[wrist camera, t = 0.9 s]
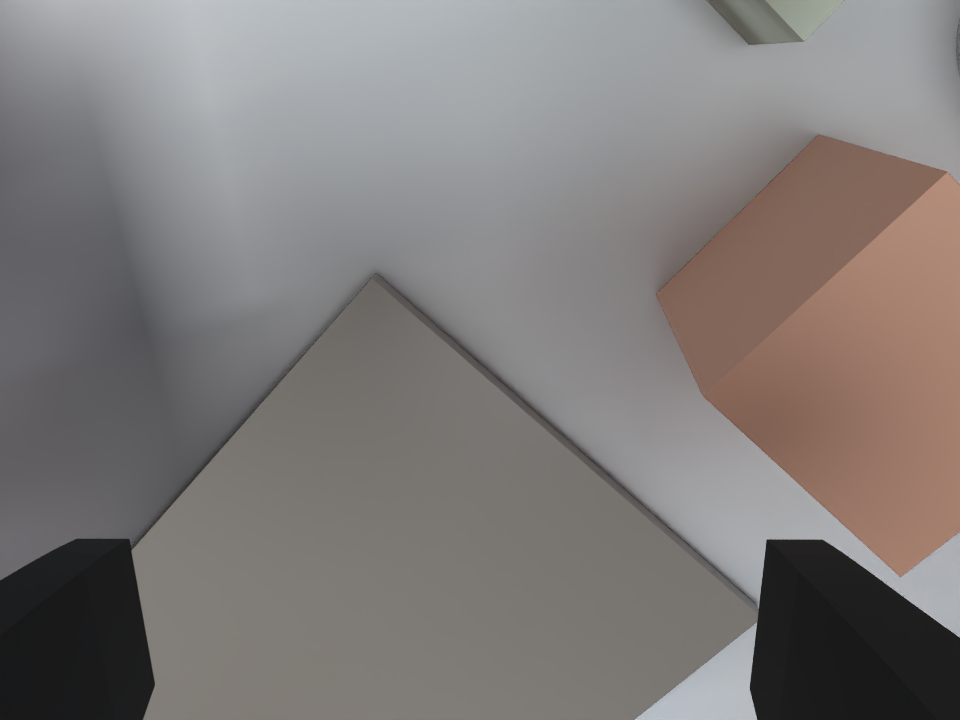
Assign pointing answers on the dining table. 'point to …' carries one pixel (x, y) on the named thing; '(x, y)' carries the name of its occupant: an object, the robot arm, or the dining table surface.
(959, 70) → the grey cylinder
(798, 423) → the terracotta block
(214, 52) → the dining table surface
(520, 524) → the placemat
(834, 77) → the dining table surface
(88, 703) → the robot arm
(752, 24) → the sage block
